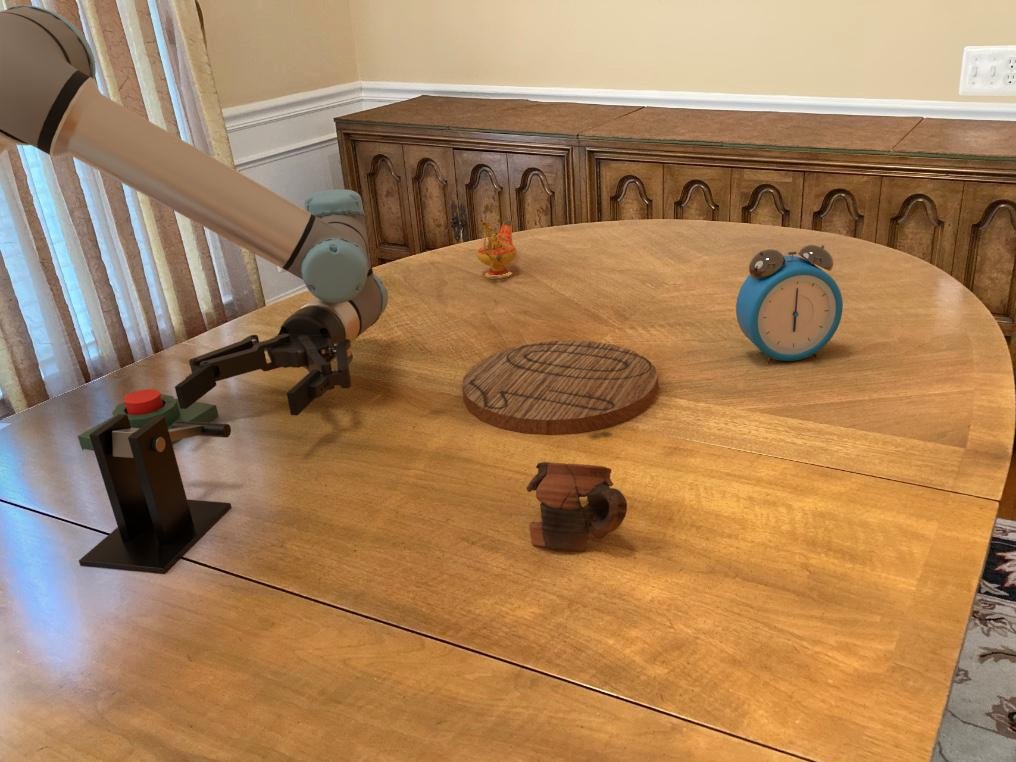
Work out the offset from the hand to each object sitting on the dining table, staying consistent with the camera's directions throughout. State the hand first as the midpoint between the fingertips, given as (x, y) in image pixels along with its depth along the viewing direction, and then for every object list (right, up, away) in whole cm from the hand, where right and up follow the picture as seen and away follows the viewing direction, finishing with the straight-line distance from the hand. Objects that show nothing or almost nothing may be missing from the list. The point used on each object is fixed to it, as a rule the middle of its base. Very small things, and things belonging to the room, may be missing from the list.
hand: (235, 401), depth 109 cm
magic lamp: (+23, +26, +63) cm, 72 cm away
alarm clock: (+66, +7, +25) cm, 71 cm away
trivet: (+36, +2, +17) cm, 40 cm away
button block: (-13, -4, +9) cm, 17 cm away
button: (-13, -1, +8) cm, 16 cm away
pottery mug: (+39, -14, -12) cm, 43 cm away
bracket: (-3, -14, -11) cm, 19 cm away
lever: (-3, -5, -11) cm, 13 cm away
